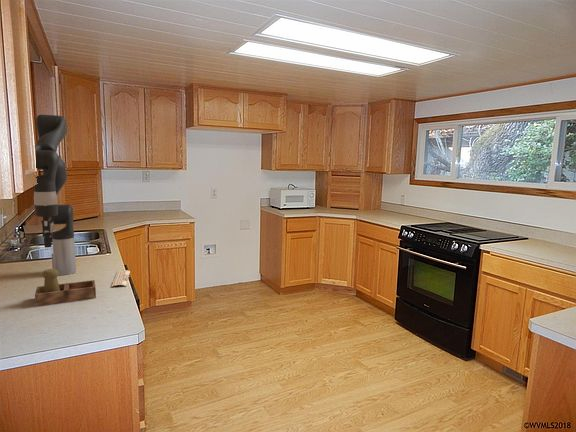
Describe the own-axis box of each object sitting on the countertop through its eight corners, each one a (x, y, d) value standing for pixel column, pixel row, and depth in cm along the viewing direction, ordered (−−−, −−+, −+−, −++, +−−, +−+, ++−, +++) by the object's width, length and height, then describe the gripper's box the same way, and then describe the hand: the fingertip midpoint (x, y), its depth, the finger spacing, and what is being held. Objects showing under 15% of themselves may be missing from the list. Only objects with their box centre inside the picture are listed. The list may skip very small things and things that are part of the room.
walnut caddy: (35, 306, 146) (34, 294, 146) (38, 297, 155) (37, 286, 154) (96, 297, 156) (95, 287, 155) (94, 290, 165) (94, 280, 164)
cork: (57, 293, 157) (55, 266, 156) (63, 296, 153) (61, 269, 152) (40, 297, 152) (38, 269, 151) (46, 300, 149) (44, 272, 147)
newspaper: (117, 274, 191) (116, 270, 190) (132, 273, 193) (132, 269, 193) (111, 289, 169) (110, 285, 168) (128, 288, 171) (128, 284, 170)
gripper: (35, 201, 152) (38, 242, 155) (32, 205, 140) (35, 249, 142) (58, 201, 156) (60, 240, 158) (56, 205, 143) (59, 247, 146)
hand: (48, 244), depth 150 cm, fingers open, 8 cm apart
